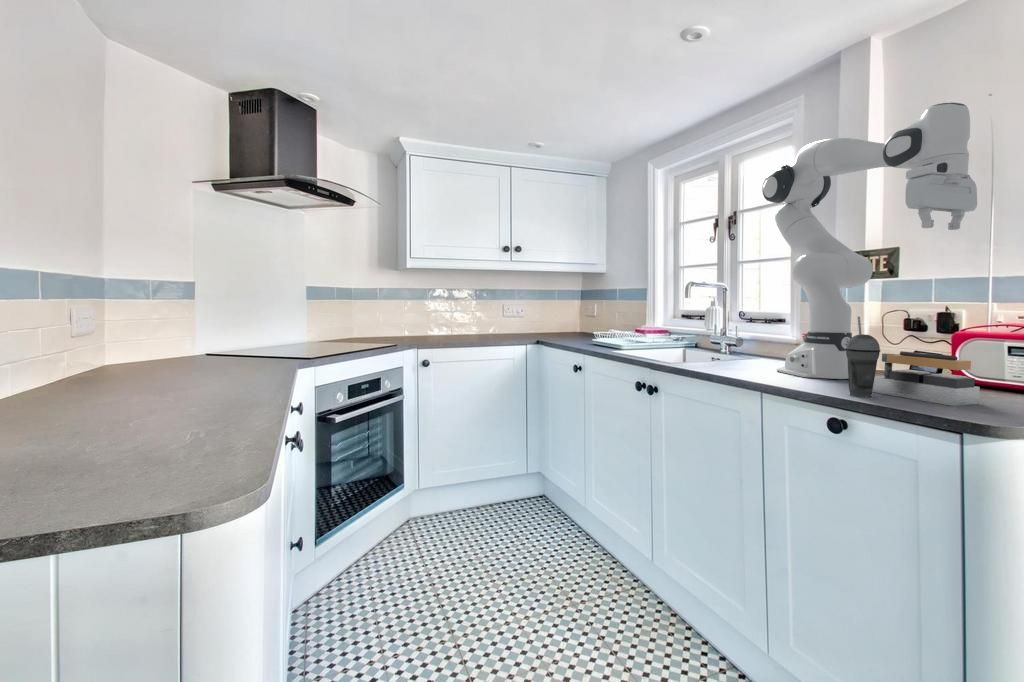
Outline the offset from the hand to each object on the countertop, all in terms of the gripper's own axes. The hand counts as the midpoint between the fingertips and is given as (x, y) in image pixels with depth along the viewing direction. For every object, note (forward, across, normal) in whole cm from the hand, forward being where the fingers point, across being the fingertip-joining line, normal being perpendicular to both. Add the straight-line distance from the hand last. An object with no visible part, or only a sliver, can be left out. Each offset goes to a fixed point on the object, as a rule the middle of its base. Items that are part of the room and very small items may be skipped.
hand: (940, 228), depth 122 cm
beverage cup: (+42, +16, -6) cm, 45 cm away
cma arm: (+34, +5, 0) cm, 34 cm away
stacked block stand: (+42, +4, 0) cm, 42 cm away
